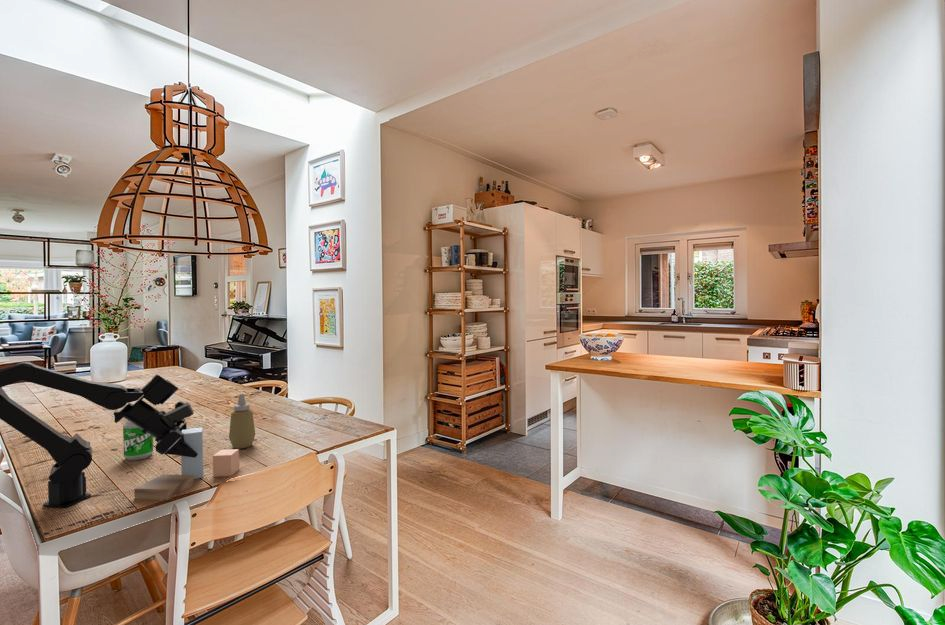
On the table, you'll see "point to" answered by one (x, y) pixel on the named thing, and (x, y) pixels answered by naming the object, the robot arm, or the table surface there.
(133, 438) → the soda can
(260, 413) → the table surface
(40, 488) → the table surface
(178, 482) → the walnut slab
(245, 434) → the squeeze bottle
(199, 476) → the blue pillar
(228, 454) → the terracotta block
